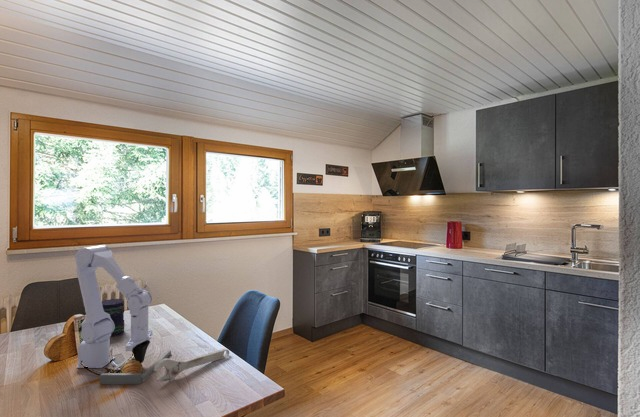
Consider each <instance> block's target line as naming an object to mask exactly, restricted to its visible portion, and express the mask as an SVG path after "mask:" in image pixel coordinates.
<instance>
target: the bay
mask: <svg viewBox="0 0 640 417" xmlns="http://www.w3.org/2000/svg"><path fill="white" fill-rule="evenodd" d="M171 355H172V350H171V349H169V350H168V349H167V350H166V352H164V353H163V354H162V355H161V356H160V357H159V358H158V359H157V360H155V362H154V363H152V365H150V367H148V368H147V369H146V370H145V371H143V373H142V372H141V373H121V372H118V373H110V371H109V372H102V373H101V374H100V375H99V376H100V377H99V384H100V385H141V384H142V383H143V382H144V381H145V380H146V379H147V378H148V377H149V376H151V374H152V373H153V372H154V367H155V365H156V364H157V363H158V362H159V361H160V360H162V359H164V358H169V357H170V356H171ZM131 356H132V354H131V355H129V356H128V357H127V358H125V359H124V360H123V361H122V362H120V363H119V364H118V365H116V366H115V367H114V368H116V369H118V368H120V366H121V365H122V364H124V363H125V362H126V361H127V360H128V359H129V358H130V357H131Z"/></svg>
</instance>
